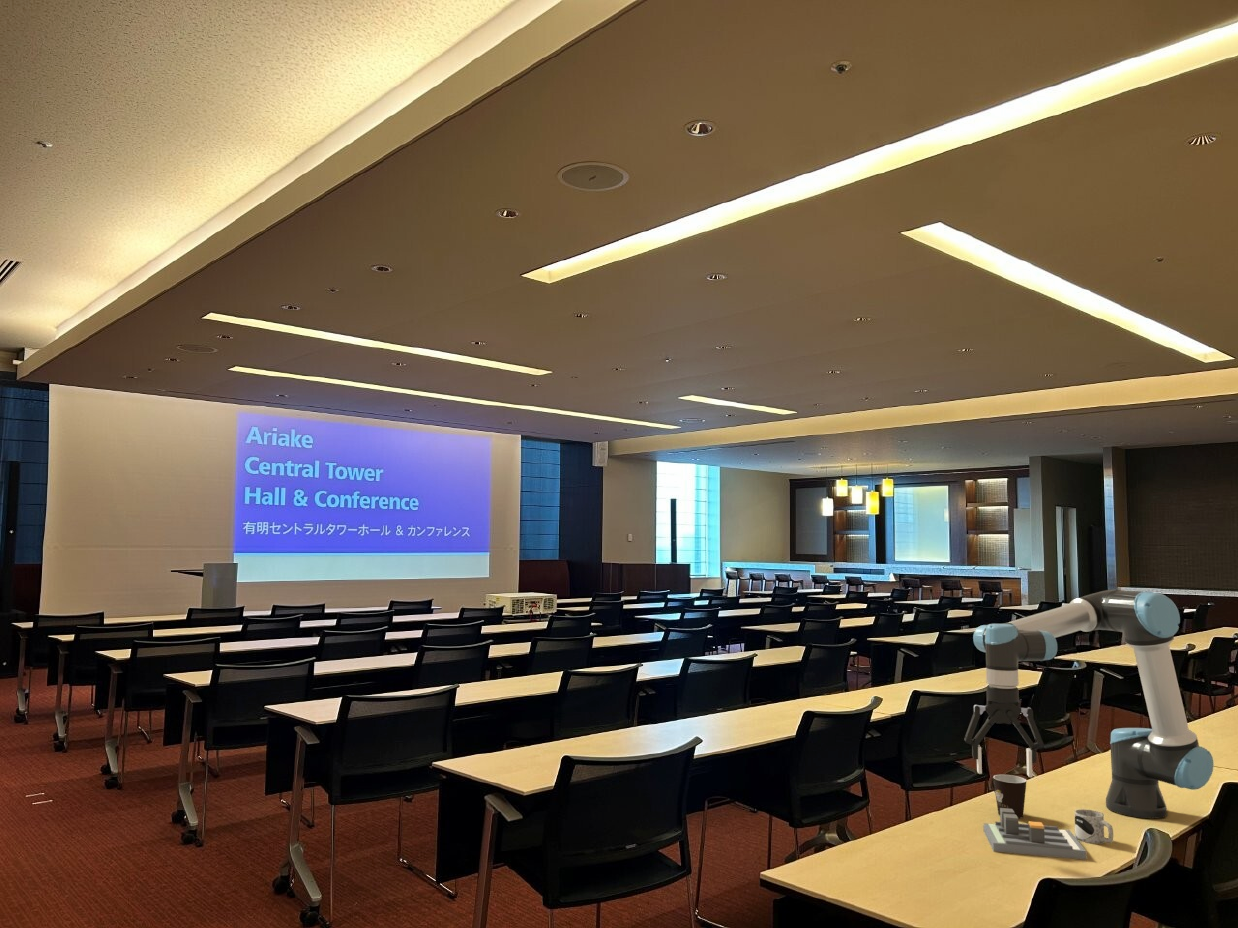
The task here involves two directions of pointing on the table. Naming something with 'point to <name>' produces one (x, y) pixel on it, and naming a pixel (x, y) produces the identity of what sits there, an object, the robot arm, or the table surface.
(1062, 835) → the panel
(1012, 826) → the block
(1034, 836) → the block
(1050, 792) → the table surface
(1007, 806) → the coffee mug
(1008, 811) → the block
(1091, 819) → the mug
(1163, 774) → the robot arm
